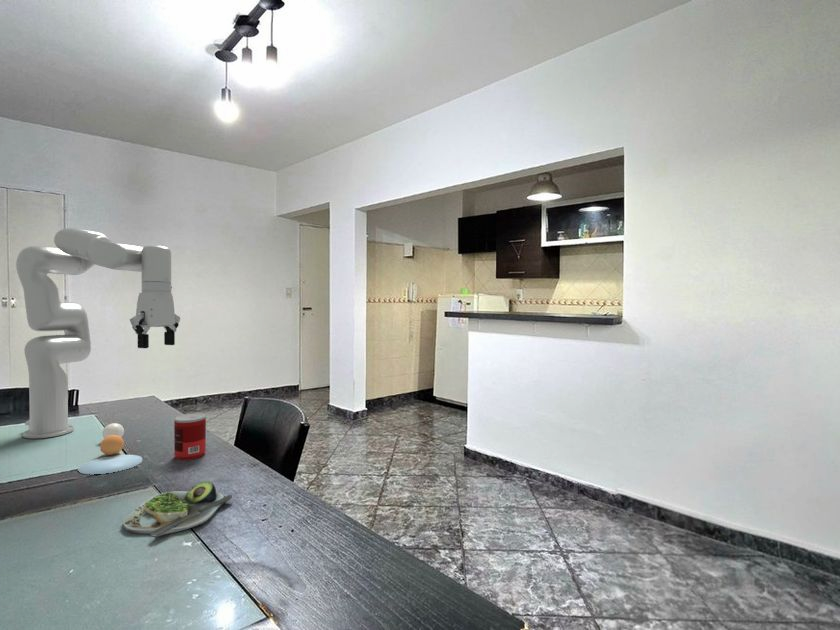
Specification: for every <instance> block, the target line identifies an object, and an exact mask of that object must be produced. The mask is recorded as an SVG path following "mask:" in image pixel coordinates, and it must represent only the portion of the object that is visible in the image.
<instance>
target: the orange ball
mask: <svg viewBox="0 0 840 630" xmlns="http://www.w3.org/2000/svg"><path fill="white" fill-rule="evenodd" d="M124 445H125V442H124V439H123V437H120V436H118V435H110V436H107V437H105V438H103V439H101V442H100V445H99V447H100V451H101V452H102V454H104V455H107V456H115V455H116V454H117V455H118V454H119V453H120V451H122V450H123V448H124Z"/></svg>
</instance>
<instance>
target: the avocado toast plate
mask: <svg viewBox="0 0 840 630" xmlns="http://www.w3.org/2000/svg"><path fill="white" fill-rule="evenodd" d="M232 498H233V494H228V495H224V494H223V492H222V493H221V492H220V491H217V490H216V486H215V485H214V484H213V482H210V481H202V482H199V483H196V484H195V485H193V486H192V489H190V490H189V491H182V490H179V491H178V490H176V491H175V490H174V491H167V492H162V493H158V494H156V495H153V496H151V497H149V498H147V499H146V500H144V501H143V502H142V503H140V504H139V506H137V507H136V508H135V509H134V510H133V511H131V512H129V514H127V516H125V517H124V518H123V520H122V524H121V526H122V527H123V528H124V529H125V530H127V531H128V532H131V533H132V534H133V533H134V534H137V533H138V534H139V535H149V536H150V537H152V538H155V537H156V538H157V537H160V536H163V535H169V533H170V534H174V533H177V532H180V531H181V532H182V531H185V530H188V529H191V528H195V527H198V526H200V525H203V524H204V523H205V522H207V521H208V520H209V519H210V518H211V517H212V516H213V515H214V514H215V513H216V512H217V511H218V509H219V508H221V507H222V506H223V505H225V504H226V503H227V502H228V501H230V500H231V499H232ZM146 514H149V515H150V516H153V518H154V519H155V521H156V522H157V525H152V526H151V525H150V526H142V525H141V524H140V520H141V519H142V517H143V516H144V515H146Z"/></svg>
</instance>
